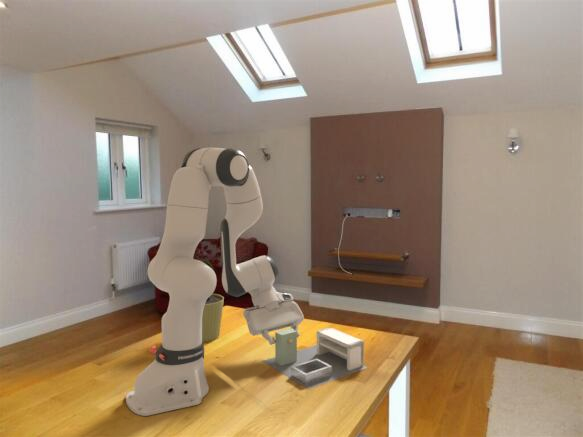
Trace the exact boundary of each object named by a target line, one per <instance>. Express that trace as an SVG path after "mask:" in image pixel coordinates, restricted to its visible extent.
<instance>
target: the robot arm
mask: <svg viewBox="0 0 583 437" xmlns="http://www.w3.org/2000/svg"><path fill="white" fill-rule="evenodd" d="M254 171H255V170H254V168H253V167H252V166H251V165H250V163H249V160H248V158H247V156H246V155H245V154H244V153H243V152H242V151H240V150H238V149H236V148H223V147H217V146H215V147H214V146H211V147H204V148H201V147H198V148H195V149H192V150H189V152H187V154H185V155H184V158H183V159H182V163H181V167H179V168H178V169H177V170H176V171H175V172H174V174H173V177H172V180H171V183H170V187H169V193H168V197H167V207H166V215H165V223H164V231H163V235H162V238H161V241H160V245H159V247H158V249H157V252H156V255H155V256H154V257H153V258H152V259H151V261H150V262H149V263H148V267H147V276H148V278H149V281H150V282H151V283H152V284H153V286H155V287H156V289H158V290H160V291H162V292H165V293H168V296H169V301H168V307H167V310H166V312H165V313H164V314H163V315H162V317H161V344H160V345H159V347H157V346H156V345H152V346H150V348H149V350H148V351H149V353H151V354H152V355H154V356H155V358H154V359H153V361H152V362H151V363H150V364H149V365H148V366H147V367H146V368H145V369H143V370H142V371H141V372H140V373H138V375H137V376H136V379H135V382H134V389H133V390H131V391H129V392H127V393H126V397H125V402H126V406H127V407H128V408H129V409H130V411H131V412H133V413H135V414H136V415H138V416H142V417H148V416H152V415H156V414H161V413H165V412H170V411H175V410H178V409H180V410H181V409H184V408H189V407H192V406H197V405H199V404H201V403H202V401H203V398H204V397H205V396H206V395H207V394H208V393H209V390H210V386H209V385H208V384H209V383H208V381H207V377H206V372H205V367H204V366H205V364H204V359H205V342H203V340H202V315H203V310H204V306H205V303H206V300H207V299H208V298H209V297H210V296H211V295H212V294H214V292H215V290H216V287H217V282H218V279H217V275H216V272H215V270H214V271H213V269H214V268H213V269H212V268H210V267H209V266H208V265H206V264H205V263H203V262H202V261H203V260H202V261H200V259H199V260H198V259H194V255H195V253H196V252H195V251H196V249H197V247H198V246H199V243H200V242H202V240H203V239H204V238H205V237H206V231H207V230H206V229H207V221H208V211H209V199H210V198H209V196H210V195H209V194H210V192H211V189H212V187H222V188H223V191H224V197H225V202H226V214H225V216H224V218H223V219H222V220H221V222H220V228H219V229H220V230H219V234H220V235H219V236H220V254H221V284H222V287H223V289H224V291H225V293H226V294H227V295H229V296H232V297H236V298H239V297H241V296H243V295H245V294H246V293H248V294H250V296H251V301H252V303H253V306H252V307H246V308H245V309H244V310H243V317H244V319H245V320H246V325H247V328H248V331H249V333H250V335H252V336H258V335H261V336H262V338H264V339H265V340H266V341H268V343H269V345H270V346H271V345H275V343H276V340H275V336H271V335H270V334H269V333H270V332H274V331H275V332H276V331H278V330H279V331H280V330H283V329H287V328H291V329H293V330H295V331H297V338H299V336H300V332H299V331H298V330H299V325H301V324H302V322H303V321H304V318H305V316H304V314H303V311H302V310H301V308H300V306H299V304H298V303H297V302H295V301H294V295H292V294H291V293H283V292H279V291H277V289H276V288H275V287H274V285H273V284H275V282H276V280H277V278H278V276H279V269H278V266H277V264H276V262H275V261H274V259H273V258H272V257H271V256H268V255H265V254H264V255H260V256H258V257H254V258H251V259H250V260H246V261H244V262H240V263H237V256H236V243H237V240H239V238H240V236H241V235H242V234H243V233H245V232H246V231H247V230H248V229H250V228H251V227H253V226H254V225H255V224H256V223H257V222H258V221H259V219H260V218H261V216H262V214H263V210H264V204H263V198H262V193H261V188H260V185H259V182H258V179H257V176H256V174H255V172H254Z"/></svg>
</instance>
